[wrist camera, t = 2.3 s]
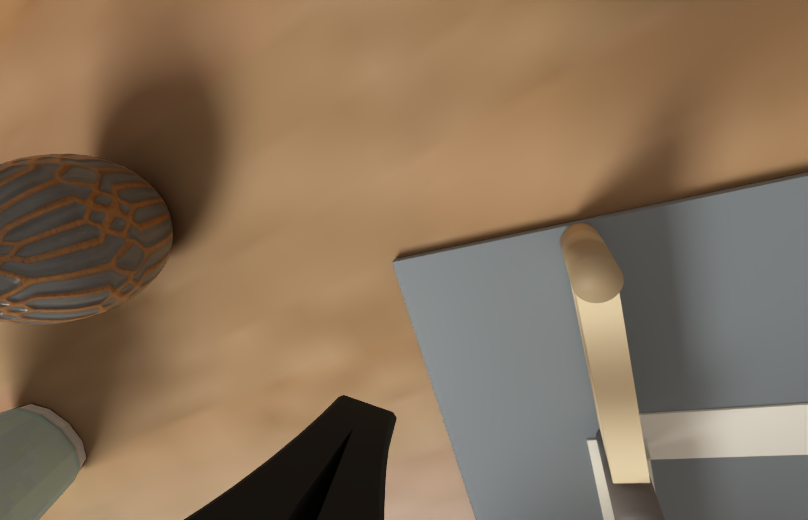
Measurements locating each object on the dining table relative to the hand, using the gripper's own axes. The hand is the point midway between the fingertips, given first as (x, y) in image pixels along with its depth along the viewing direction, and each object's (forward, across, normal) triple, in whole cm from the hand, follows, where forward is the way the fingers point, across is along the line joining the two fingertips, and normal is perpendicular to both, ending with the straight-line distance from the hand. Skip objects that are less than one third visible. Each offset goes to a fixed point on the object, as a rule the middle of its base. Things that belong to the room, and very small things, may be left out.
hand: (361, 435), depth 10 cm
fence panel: (+9, -7, 0) cm, 11 cm away
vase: (+10, +15, +1) cm, 18 cm away
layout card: (+9, -11, +3) cm, 15 cm away
